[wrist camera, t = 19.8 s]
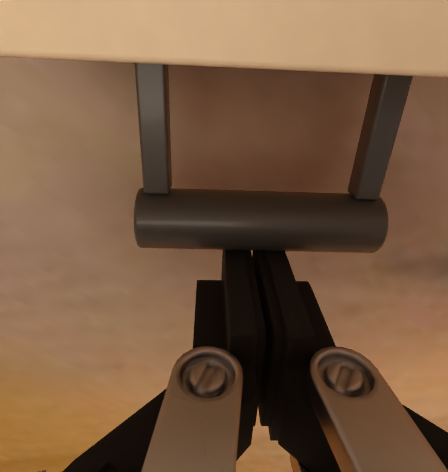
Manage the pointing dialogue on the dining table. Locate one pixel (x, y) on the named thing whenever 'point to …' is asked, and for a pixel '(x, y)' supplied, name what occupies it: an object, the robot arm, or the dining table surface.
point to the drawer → (257, 57)
